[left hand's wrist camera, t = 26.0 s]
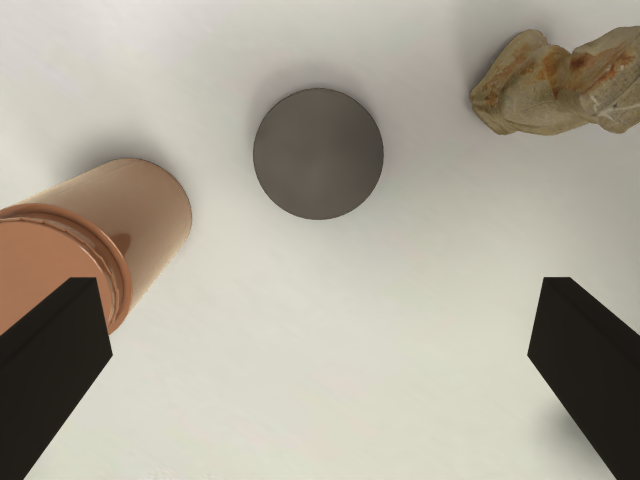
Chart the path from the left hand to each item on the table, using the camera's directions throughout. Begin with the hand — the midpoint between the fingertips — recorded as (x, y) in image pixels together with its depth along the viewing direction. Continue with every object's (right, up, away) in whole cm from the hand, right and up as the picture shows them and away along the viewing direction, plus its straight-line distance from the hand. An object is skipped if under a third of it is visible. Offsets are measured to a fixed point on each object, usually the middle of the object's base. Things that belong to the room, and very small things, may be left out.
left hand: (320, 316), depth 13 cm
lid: (0, +9, +22) cm, 24 cm away
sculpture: (+15, +15, +22) cm, 30 cm away
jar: (-16, +5, +26) cm, 31 cm away
